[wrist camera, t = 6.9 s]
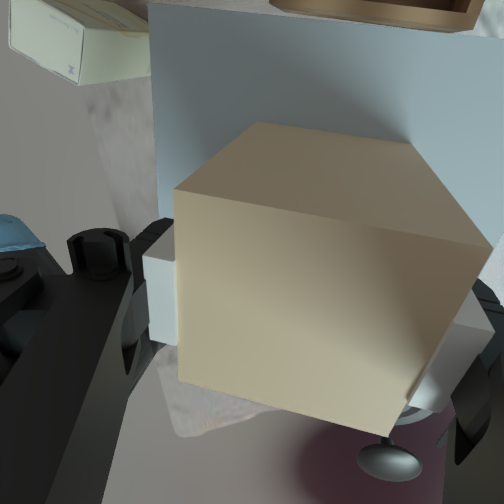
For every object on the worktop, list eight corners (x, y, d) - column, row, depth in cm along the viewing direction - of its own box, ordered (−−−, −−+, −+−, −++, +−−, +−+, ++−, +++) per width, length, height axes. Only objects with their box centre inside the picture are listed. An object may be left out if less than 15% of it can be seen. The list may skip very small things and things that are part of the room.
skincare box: (168, 32, 33) (89, 25, 23) (156, 78, 36) (80, 89, 26) (111, 0, 33) (6, -22, 23) (103, 47, 35) (6, 47, 25)
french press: (431, 286, 40) (507, 500, 21) (366, 319, 45) (378, 518, 26) (369, 218, 38) (391, 390, 19) (307, 261, 43) (274, 433, 24)
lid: (171, 273, 20) (65, 410, 12) (161, 5, 13) (-90, -61, 5) (432, 331, 18) (502, 540, 10) (582, 49, 11) (1135, 43, 3)
